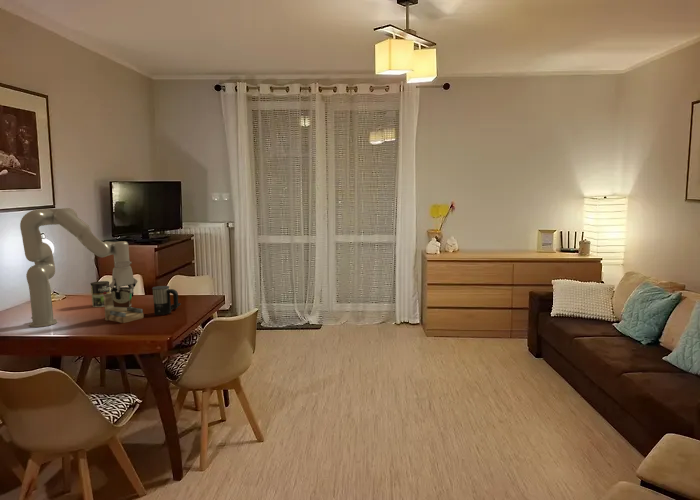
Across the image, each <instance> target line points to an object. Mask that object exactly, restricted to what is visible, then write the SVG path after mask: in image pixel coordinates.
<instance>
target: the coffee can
mask: <svg viewBox="0 0 700 500" xmlns="http://www.w3.org/2000/svg"><path fill="white" fill-rule="evenodd" d="M109 285H110V281H108V280H102V281H101V280H100V281H99V280H98V281H94V282H90V290H91V291H90V292H91V303H92V307H93V308H102V307H103V308H104V296H103V294H108V293H110V291H111V288H110V287H109Z"/></svg>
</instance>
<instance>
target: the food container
mask: <svg viewBox="0 0 700 500" xmlns="http://www.w3.org/2000/svg"><path fill="white" fill-rule="evenodd" d="M119 292H120V297H121V299H116V297H115V292H114V290H112V288H110V293H112V300H113V306H114V307H119V308H130V307H132V300H133V299H132V293H134V289H133V290H132V288H130V287H128V286H122V287H120V290H119Z"/></svg>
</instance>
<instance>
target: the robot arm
mask: <svg viewBox="0 0 700 500" xmlns="http://www.w3.org/2000/svg"><path fill="white" fill-rule="evenodd" d="M50 225H51V226H52V225H56V226H58V225H60V226H61V227H62V228H63V229H65V230H67V232H68V233H70V234H72V236H74V237H75V238H76V239H77V240H78V241H79V242H80V243H81V244H82V245H83V246H84V248H85V249H87V250H88V251H89V252H91V253H92V254H94V255H95V256H97V257H99V258H106V257H108V256H111V255H113V264H114V265H113V266H114V267H113V268H112V277H111V278H112V279H111V283H109V287H110V289H112V290H114V292H115V297H116V299H121V297H120V292H119V290H120V287H130V288H132V290H133V291H134V289H135V287H136V286H137V283H138V281H139V280H138V279H136V278H135V277H134V273H133V269H132V266H131V264H132V261H130V248H129V243H128V241H125V240H124V241H122V240H121V241H102V240H101V239H100V238H98V237H97V236H96V235H94V233H93V232H92V230H91V226H90V225H89V224H87V223H86V222H84V221H83V220H82V219H81V218H80V217H79V216H78V213H77V212H76V210H74V209H72V208H69V207H65V208H40V209H39V208H38V209H34V210H33V209H32V210H30V211H29V212H26V214H24V215H23V216H22V217H21V220H20V223H19V229H20V233H21V238H22V245H23V250H24V251H23V252H24V255H25V258H26V260H27V261H29V262H32V263H34V264H33V265H31V266H30V267H29V268H28V269H27V271H26V281H27V285H28V290H29V297H30V298H29V299H30V308H31V310H30V311H31V318H30V319H31V322H30V323H29V324H28V326H29V327H31V328H42V327H47V326H48V327H49V326H52V325H56V324H57V323H58V320H57V319H54V310H53V309H54V308H53V298H52V297H53V296H52V290H51V289H52V288H51V285H50V282H49V280H51V279H52V278H53V277H54V276H55V274H56V266H55V261H54V255H53V254H54V253H53V250H52V247H51V246H50V245H49V244H48V243H46V242H43V238H42V234H41V231H40V227H42V226H50ZM134 294H135V293H134V292H133V293H132V297H134Z"/></svg>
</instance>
